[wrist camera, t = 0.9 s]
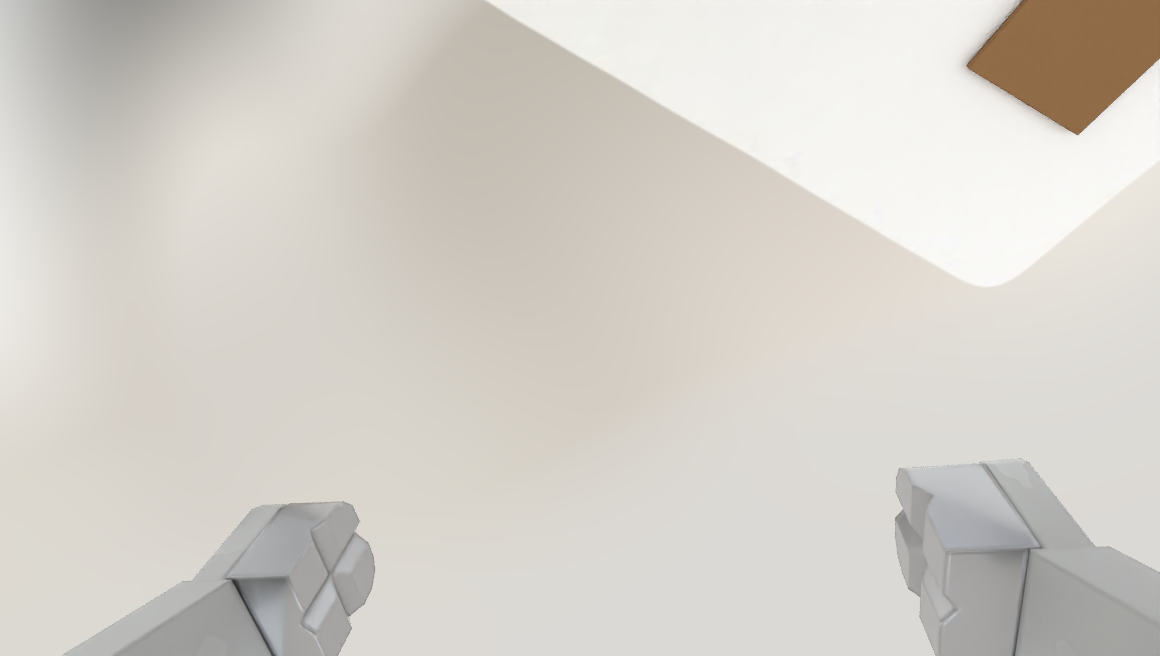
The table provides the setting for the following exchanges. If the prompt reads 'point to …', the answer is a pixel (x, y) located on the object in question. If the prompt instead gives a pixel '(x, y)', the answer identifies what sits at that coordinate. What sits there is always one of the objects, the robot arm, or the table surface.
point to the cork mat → (1072, 55)
